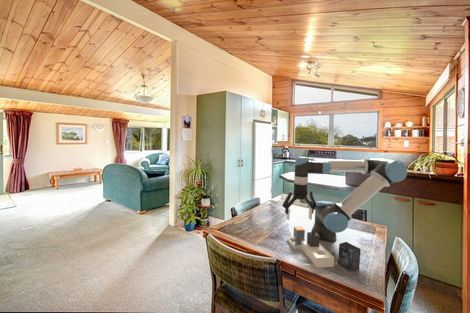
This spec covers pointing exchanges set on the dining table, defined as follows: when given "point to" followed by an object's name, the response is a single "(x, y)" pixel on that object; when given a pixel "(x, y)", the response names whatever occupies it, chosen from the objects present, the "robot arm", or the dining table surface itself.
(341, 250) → the box
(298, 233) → the plug
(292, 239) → the tray
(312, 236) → the twin plug
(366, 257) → the dining table surface
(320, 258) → the beige socket block
